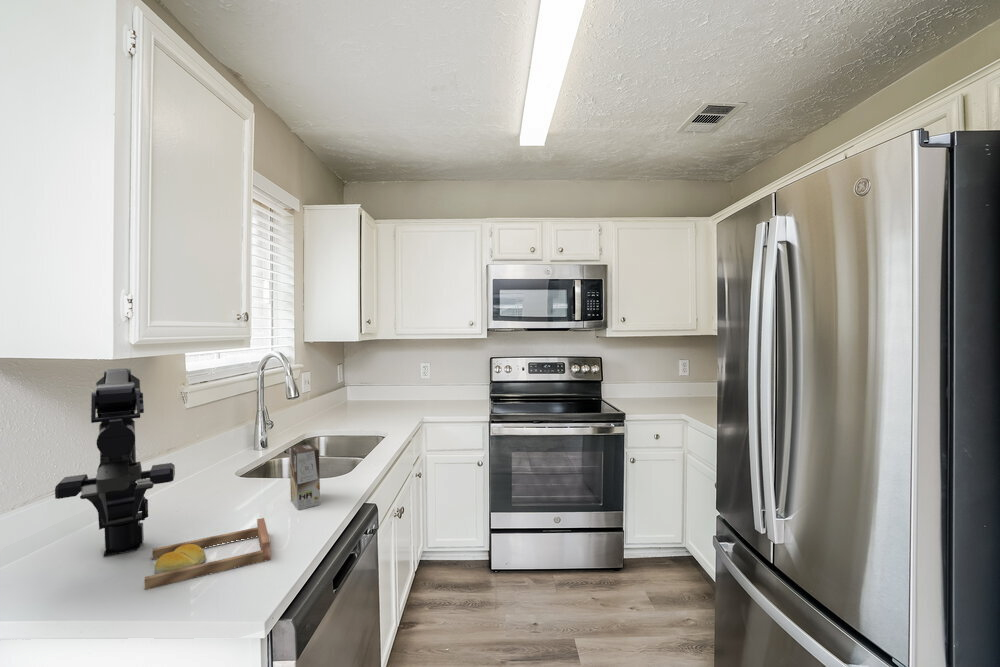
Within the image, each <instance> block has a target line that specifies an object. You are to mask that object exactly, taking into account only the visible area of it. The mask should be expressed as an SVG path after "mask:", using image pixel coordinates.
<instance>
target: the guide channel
mask: <svg viewBox="0 0 1000 667" xmlns="http://www.w3.org/2000/svg"><path fill="white" fill-rule="evenodd" d="M256 522H257V526H256V527H253V528H248V529H243V530H238V531H233V532H232V531H231V532H228V533H223V534H218V535H214V536H208V537H204V538H198V539H194V540H188V541H184V542H179V543H174V544H169V545H165V546H160V547H155V548H152V555H151V556H152V560H153V559H154V560H158V559H159V558H160V557H161V556H162V555H163V554H165V553H169V552H174V551H175V550H176V549H177V548H178V547H180V546H182V545H186V544H195V545H198V546H199V547H201V548H205V547H209V546H213V545H217V544H222V543H227V542H231V541H236V540H241V539H247V538H251V537H256V536H258V537H256V538H257V540H258V543H260V544H259V548H261V549H260V550H257V551H252V552H247V553H243V554H239V555H235V556H232V557H231V556H230V557H227V558H226V557H225V558H223V559H218V560H213V561H209V562H203V563H202V564H199V565H195V566H191V567H186V568H182V569H178V570H173V571H169V572H164V573H160V574H157V573H156V574H151V575H147V576H144V590H149V589H153V588H158V587H162V586H167V585H170V584H173V583H178V581H179V582H182V581H186V579H187V580H191V579H195V578H194V577H196V578H198V577H197V576H200V577H203V576H202V575H204V576H207V574H208V575H211V574H210V573H212V574H216V573H220V572H219V571H221V572H223V570H225V571H228V570H227V569H229V570H232V569H231V568H233V569H235V568H234V567H237V568H239V567H238V566H242V567H244V566H243V565H246V566H249V565H248V564H250V565H254V564H257V562H258V563H261V562H262V561H263V562H266V561H265V560H267V561H270V559H271V539H270V536H269V533H268V529H267V524H266V520H265V518H264V517H262V518H258V519H257V520H256ZM247 540H248V539H247ZM205 549H206V548H205ZM157 558H158V559H157ZM263 562H262V563H263ZM253 563H254V564H253Z"/></svg>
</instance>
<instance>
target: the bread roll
mask: <svg viewBox="0 0 1000 667" xmlns="http://www.w3.org/2000/svg"><path fill="white" fill-rule="evenodd" d="M206 559H207V556H206V553H205V549H202V548H201V547H199V546H198V545H195V544H186V545H182V546H180V547H178V548H177V549H176V550H175V551H174V552H169V553H165V554H163V555H162V556H161V557H160V558H158V559H156V561H155V563H154V571H155V573H156V574H160V573H164V572H169V571H173V570H178V569H182V568H186V567H191V566H195V565H199V564H201V563H202V564H204V563H205V561H206Z"/></svg>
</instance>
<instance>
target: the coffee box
mask: <svg viewBox="0 0 1000 667" xmlns="http://www.w3.org/2000/svg"><path fill="white" fill-rule="evenodd" d="M288 449H289V482H290V483H289V484H290V485H289V486H290V502H291V503H292V505H293V506H295V508H296V509H297V510H299V511H300V510H304V509H308V508H307V507H309V508H312V507H311V506H313V507H316V506H315V505H317V506H320V505H321V486H320V485H321V480H320V475H321V474H320V450H319V448H317V447H316V446H315V445H313V444H312V443H306V444H300V445H296V446H290V447H289V448H288ZM319 504H320V505H319Z"/></svg>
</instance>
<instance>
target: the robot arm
mask: <svg viewBox="0 0 1000 667" xmlns="http://www.w3.org/2000/svg"><path fill="white" fill-rule="evenodd" d="M95 384H96V385H95V391H91V403H90V404H91V405H90V406H91V408H90V410H91V411H90V412H91V414H90V418H91V419H90V421H91V422H90V423H91V424H94V423H96V424H97V423H99V425H98V436H97V438H96V448H97V449H98V451H99V465H98V468H97V471H96V472H97V474H96V476H95V477H93V478H92V477H91V478H89V477H88V474H85V473H84V474H77V475H71V476H69V475H68V476H64V477H63V479H61V480H60V481H59V482H58V484H56V486H55V487H54V488H55V489H54V497H55V498H54V499H57V500H59V499H66V498H72V497H73V498H74V497H77V496H78V495H79V494H80V496H79V498H80V499H81V500H88V501H89V502H90V503H91V504H92V505H93V506H94V508H95V509H96V511H97V515H98V530H102V529H104V552H103V554H102V555H103V556H102V557H107V556H113V555H116V554H117V555H118V554H122V553H126V552H127V553H128V552H132V551H136V550H139V549H140V548H141V547H140V546H141V545H142V544H143V542H144V541H145V540H144V537H145V536H144V522H143V521H145V520H146V519H147V518H148V517H149V499H148V498H146V497H145V493H146V492H147V490H150V489H153V488H154V485H158V484H165V483H171V482H173V481H174V479H175V476H176V470H175V469H176V467H175V464H173V463H172V462H169V463H159V464H153V465H152V467H151V469H150V470H144V471H143V470H142V469H143V468H142V463H141V461H137V452H136V451H137V449H136V427H135V426H136V421H135V420H134V419H140V418H141V414H144V412H145V411H144V409H145V408H144V406H145V404H144V393H143V392H141V380H140V379H139V378H138V377H137V376H135V375H133V374H132V369H131V368H109V369H106V370H104V371H103V376H102V377H101V378H100V379H99V380H98V381H96V383H95ZM96 415H97V416H96ZM141 521H142V522H141Z"/></svg>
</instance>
